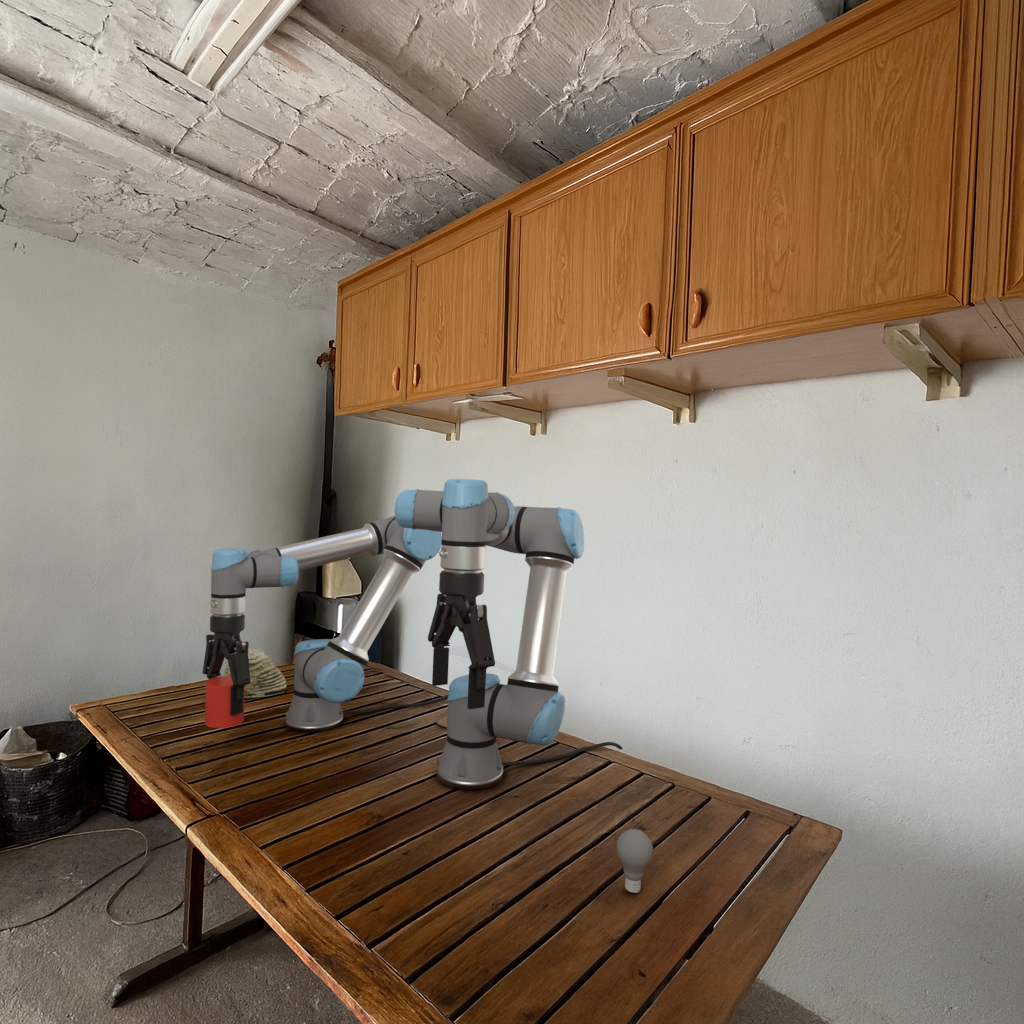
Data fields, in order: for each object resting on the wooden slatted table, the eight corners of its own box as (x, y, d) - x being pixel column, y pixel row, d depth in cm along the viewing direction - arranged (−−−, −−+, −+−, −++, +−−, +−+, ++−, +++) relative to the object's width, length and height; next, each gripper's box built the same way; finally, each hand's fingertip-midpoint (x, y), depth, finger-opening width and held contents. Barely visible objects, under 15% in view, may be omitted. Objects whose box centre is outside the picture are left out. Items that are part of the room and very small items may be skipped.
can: (250, 721, 151) (251, 680, 151) (216, 730, 144) (217, 688, 144) (232, 712, 156) (233, 673, 156) (198, 721, 149) (199, 680, 149)
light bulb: (610, 879, 108) (613, 822, 108) (644, 879, 109) (647, 822, 109) (619, 902, 102) (622, 840, 102) (655, 901, 103) (658, 840, 103)
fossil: (218, 695, 195) (220, 647, 195) (278, 685, 208) (279, 640, 207) (228, 703, 189) (230, 653, 188) (289, 692, 201) (290, 645, 201)
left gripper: (187, 610, 153) (185, 703, 153) (239, 622, 141) (236, 724, 141) (217, 606, 159) (214, 696, 159) (269, 618, 147) (266, 715, 147)
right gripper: (412, 562, 115) (408, 678, 116) (477, 580, 94) (471, 722, 95) (449, 562, 119) (445, 674, 120) (520, 579, 98) (514, 715, 99)
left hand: (225, 709), depth 150 cm, fingers closed on can, 8 cm apart
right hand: (456, 695), depth 107 cm, fingers open, 13 cm apart
